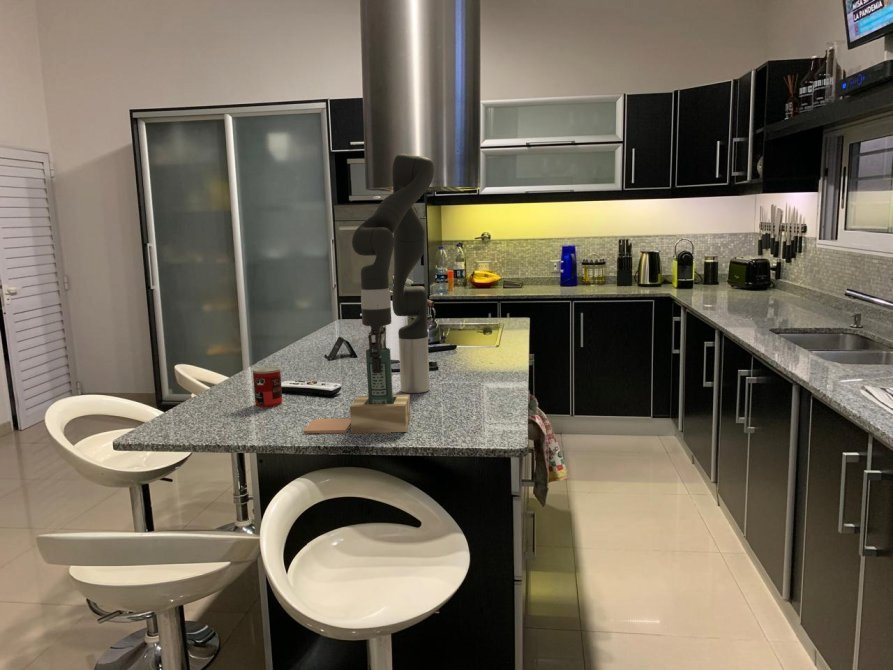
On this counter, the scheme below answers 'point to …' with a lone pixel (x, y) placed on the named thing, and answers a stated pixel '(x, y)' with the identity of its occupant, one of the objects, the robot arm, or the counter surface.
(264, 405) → the canned food
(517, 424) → the counter surface
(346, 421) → the plate
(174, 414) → the counter surface
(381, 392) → the can
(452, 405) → the counter surface
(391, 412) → the bore block
